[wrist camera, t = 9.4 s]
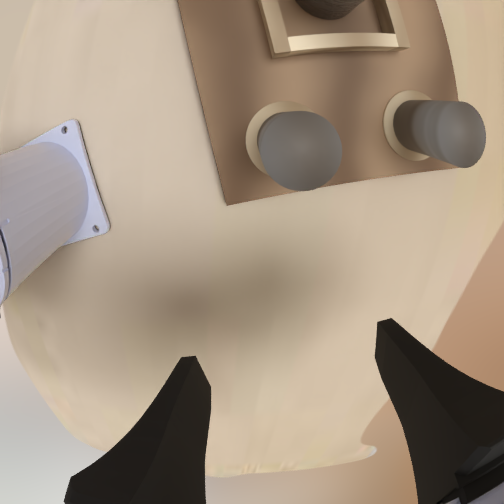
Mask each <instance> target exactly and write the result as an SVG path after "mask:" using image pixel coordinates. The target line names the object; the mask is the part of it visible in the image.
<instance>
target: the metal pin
mask: <svg viewBox="0 0 504 504" xmlns="http://www.w3.org/2000/svg"><path fill="white" fill-rule="evenodd" d="M295 1H296V3H297V4H298V5H299V6H300V7H301V8H302V9H303V10H304V11H305V12H307V13H309V14H310V15H312V16H315V17H317V18H321V19H327V20H334V19H340V18H342V17H344V16H346V15H348V14H349V13H350V12H351V11H352V10H353V9H355V8H356V7H357V6H358V5H359V4H361V3H362V2H363V1H364V0H295Z"/></svg>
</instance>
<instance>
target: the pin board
mask: <svg viewBox="0 0 504 504" xmlns="http://www.w3.org/2000/svg"><path fill="white" fill-rule="evenodd" d="M178 3H179V8H180V12H181V17H182V21H183V25H184V30H185V34H186V39H187V43H188V47H189V52H190V56H191V60H192V64H193V69H194V73H195V77H196V81H197V86H198V90H199V94H200V98H201V102H202V107H203V111H204V115H205V119H206V123H207V127H208V131H209V136H210V140H211V144H212V148H213V152H214V156H215V160H216V164H217V168H218V172H219V176H220V180H221V184H222V188H223V192H224V196H225V200H226V204H227V206H228V205H233V204H237V203H242V202H247V201H252V200H257V199H262V198H267V197H272V196H277V195H282V194H287V193H292V192H298V191H309V190H313V189H316V188H320V187H326V186H331V185H337V184H343V183H349V182H356V181H362V180H368V179H375V178H382V177H389V176H396V175H403V174H410V173H418V172H426V171H434V170H443V169H452V168H468V167H471V166H473V165H474V164H475V163H477V161H478V160H479V159H480V158H481V156H482V154H483V151H484V148H485V143H486V132H485V126H484V123H483V120H482V118H481V116H480V114H479V113H478V111H477V110H476V109H475V108H474V107H473V106H471V105H470V104H468V103H466V102H459V101H458V94H457V87H456V81H455V75H454V70H453V65H452V60H451V55H450V50H449V46H448V42H447V38H446V34H445V30H444V27H443V23H442V20H441V16H440V13H439V10H438V7H437V3H436V0H364V1H363V2H362V3H361V4H359V5H358V6H357V7H356V8H355V9H353V10H352V11H351V12H350V13H349V14H348V15H346V16H344V17H342V18H340V19H334V20H327V19H321V18H317V17H315V16H312V15H310V14H309V13H307V12H305V11H304V10H303V9H302V8H301V7H300V6H299V5H298V4H297V3H296V1H295V0H178Z"/></svg>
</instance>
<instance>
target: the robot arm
mask: <svg viewBox="0 0 504 504" xmlns="http://www.w3.org/2000/svg"><path fill="white" fill-rule="evenodd" d="M65 127H67V128H68V131H67V133H65ZM95 225H96V226H98V228H99V230H97V229H96V228H95ZM109 229H110V223H109V221H108V218H107V215H106V212H105V209H104V207H103V204H102V201H101V198H100V195H99V192H98V189H97V186H96V183H95V179H94V176H93V173H92V170H91V166H90V163H89V160H88V156H87V153H86V149H85V145H84V142H83V138H82V134H81V130H80V126H79V123H78V121H77V120H75V119H71V120H68V121H66V122H64V123H62V124H60V125H58V126H57V127H55V128H53V129H51V130H49V131H47V132H46V133H44V134H42V135H40V136H39V137H37V138H35V139H34V140H32V141H30V142H29V143H27V144H25V145H24V146H22V147H20V148H19V149H16V150H13V151H10V152H6V153H3V154H0V307H1V305H2V303H3V302H4V301H5V300H6V299H7V298H8V296H9V295H10V294H11V293H12V292H13V291H14V290H15V289H16V288H17V287H18V286H19V285H20V284H21V283H22V282H23V281H24V280H25V279H26V278H27V277H28V276H29V275H30V274H31V273H32V272H33V271H34V270H35V269H36V268H37V267H38V266H40V265H41V264H42V263H43V262H44V261H45V260H46V259H47V258H48V257H49V256H50V255H51V254H52V253H54V252H55V251H56V250H57V249H58V248H59V247H61V246H64V245H67V244H71V243H74V242H77V241H81V240H84V239H88V238H91V237H95V236H98V235H102V234H105V233H107V232H108V231H109ZM0 318H1V315H0ZM375 359H376V363H377V366H378V369H379V372H380V375H381V378H382V381H383V383H384V385H385V387H386V390H387V392H388V394H389V396H390V399H391V401H392V403H393V405H394V407H395V410H396V412H397V414H398V417H399V419H400V421H401V424H402V427H403V430H404V433H405V437H406V440H407V444H408V448H409V452H410V457H411V461H412V465H413V471H414V476H415V482H416V488H417V496H418V504H504V392H503V391H501V390H498V389H495V388H493V387H490V386H488V385H486V384H483V383H482V382H479V381H477V380H475V379H473V378H471V377H469V376H468V375H466V374H464V373H462V372H460V371H459V370H457V369H456V368H454V367H452V366H451V365H449V364H448V363H446V362H445V361H444V360H442V359H441V358H440V357H438V356H437V355H435V354H434V353H433V352H431V351H430V350H429V349H428V348H426V347H425V346H424V345H423V344H421V343H420V342H419V341H418V340H417V339H415V338H414V337H413V336H412V335H411V334H410V333H408V332H407V331H406V330H405V329H404V328H403V327H401V326H400V325H399V324H398V323H397V322H396V321H394V320H393V319H392V318H390V319H387V320H383V321H379V322H377V336H376V349H375ZM210 414H211V386H210V384H209V382H208V380H207V378H206V376H205V374H204V372H203V370H202V368H201V366H200V364H199V362H198V360H197V358H196V356H189V357H181V359H180V360H179V362H178V363H177V365H176V366H175V368H174V370H173V371H172V373H171V375H170V376H169V378H168V379H167V381H166V383H165V384H164V386H163V387H162V389H161V390H160V392H159V393H158V395H157V396H156V398H155V399H154V401H153V402H152V404H151V405H150V406H149V408H148V409H147V410H146V412H145V413H144V414H143V416H142V417H141V418H140V419H139V421H138V422H137V423H136V424H135V425H134V427H133V428H132V429H131V430H130V431H129V432H128V433H127V434H126V435H125V436H124V437H123V438H122V439H121V440H120V441H119V442H118V443H117V444H116V445H115V446H114V447H113V448H112V449H111V450H109V451H108V452H107V453H106V454H105V455H103V456H102V457H101V458H99V459H98V460H97V461H96V462H94V463H93V464H91V465H90V466H88V467H87V468H85V469H84V470H82V471H80V472H79V473H77V474H76V475H74V476H72V477H71V479H70V482H69V485H68V488H67V492H66V495H65V499H64V502H65V504H206V499H205V498H206V497H205V454H206V446H207V438H208V430H209V422H210Z"/></svg>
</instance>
